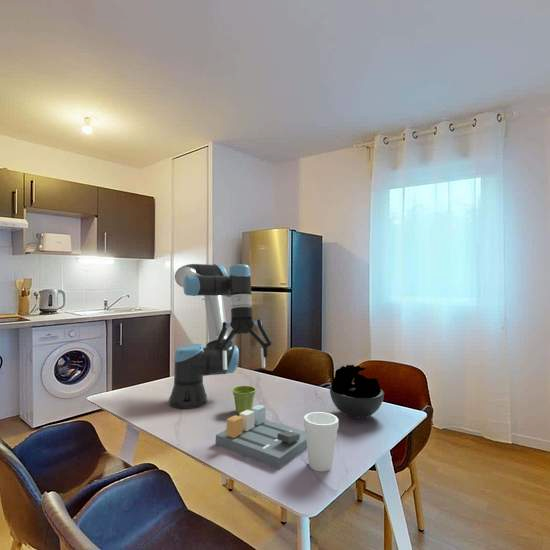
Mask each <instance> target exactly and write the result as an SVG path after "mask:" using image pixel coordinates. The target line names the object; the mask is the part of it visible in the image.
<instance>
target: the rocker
mask: <svg viewBox="0 0 550 550" xmlns="http://www.w3.org/2000/svg"><path fill="white" fill-rule="evenodd" d="M299 437H300V434H297V433H294V432H290V431H286V432H282V433H278V436H277V439H278V440H281V441H284V442H287V443H290V442H294V441H297V440H299Z"/></svg>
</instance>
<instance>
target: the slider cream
mask: <svg viewBox="0 0 550 550" xmlns="http://www.w3.org/2000/svg"><path fill="white" fill-rule="evenodd" d="M238 416H240V417H243V425H242V430H244V431H248V430H250V429H252V428H254V419H255V412H254V411H250V410H246V411H243V412H241V413H239V415H238Z"/></svg>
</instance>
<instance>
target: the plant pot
mask: <svg viewBox="0 0 550 550" xmlns="http://www.w3.org/2000/svg"><path fill="white" fill-rule="evenodd" d="M256 391H257V388H256V387H255V386H251V385H240V386H235V387H233V388H232V389H231V392H232V394H233V396H234V404H235V405H234V406H235V412H236V413H237V414H240V413H241V412H243V411H246V410H250V411H251V408H252V407H254V406H253V405H254V404H253V403H254V398H255V395H256Z"/></svg>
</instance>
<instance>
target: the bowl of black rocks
mask: <svg viewBox="0 0 550 550" xmlns="http://www.w3.org/2000/svg"><path fill="white" fill-rule="evenodd" d="M365 370H366V367H361V366H360V365H356V366H355V364H346V365H345V366H344V365H342V366H340V367H339V368H338V369H336V370H335V373H334V377H333V379H332V382H331V386H330V388H329V394H330V398H331V401H332V402H333V404H334V406H335V407H336V409H337V410H338V411H340V413H342V414H343V415H345V416H347V417H349V418H352V419H366V418H368V417H370V416H372V415H374V414H375V413H376V412H377V411H378V410H379V409H380V407H381V406H382V403H383V401H384V396H385V392H384V390H382V389H381V386H380V383H379V381H378V378H367V377H366V376H365V375H363V374H360V372H362V371H365Z"/></svg>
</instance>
